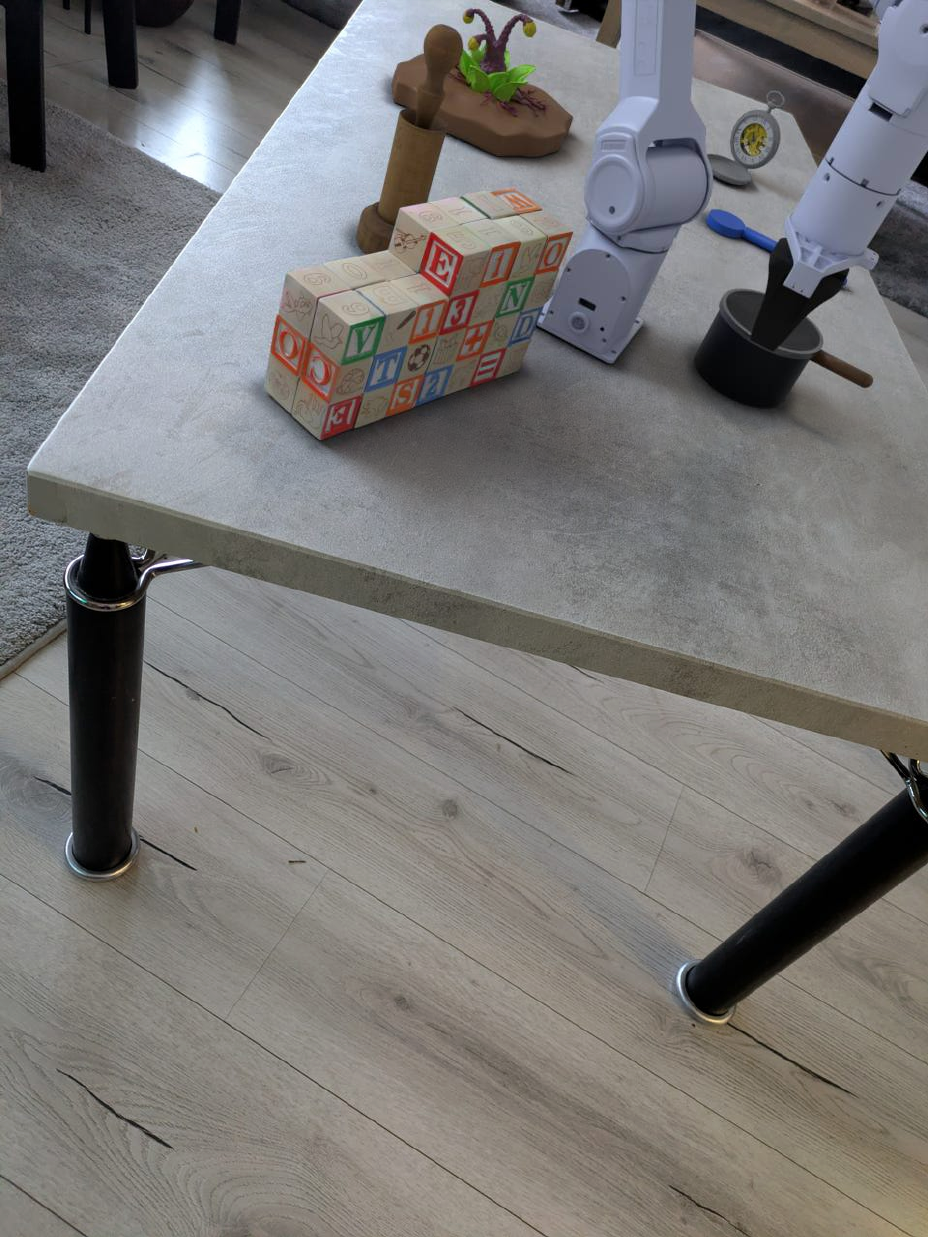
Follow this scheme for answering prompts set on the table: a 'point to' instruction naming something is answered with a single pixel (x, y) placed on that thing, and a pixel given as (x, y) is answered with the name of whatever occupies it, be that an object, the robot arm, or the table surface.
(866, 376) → the pot
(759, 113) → the pocket watch
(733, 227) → the spoon
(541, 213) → the stack of blocks
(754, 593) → the table surface
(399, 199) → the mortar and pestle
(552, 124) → the plant
